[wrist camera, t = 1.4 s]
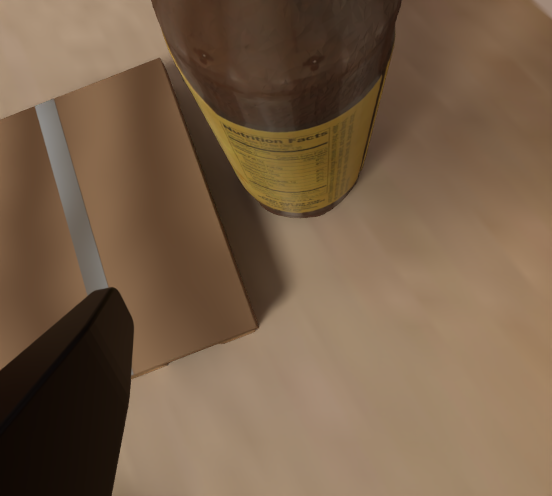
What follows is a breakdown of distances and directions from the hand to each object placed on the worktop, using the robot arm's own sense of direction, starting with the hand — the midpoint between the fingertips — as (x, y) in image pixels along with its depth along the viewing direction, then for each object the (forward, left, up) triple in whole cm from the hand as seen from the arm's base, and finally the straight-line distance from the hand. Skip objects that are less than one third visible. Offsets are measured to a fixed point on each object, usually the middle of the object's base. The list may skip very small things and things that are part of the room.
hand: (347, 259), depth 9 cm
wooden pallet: (-4, +13, -13) cm, 19 cm away
